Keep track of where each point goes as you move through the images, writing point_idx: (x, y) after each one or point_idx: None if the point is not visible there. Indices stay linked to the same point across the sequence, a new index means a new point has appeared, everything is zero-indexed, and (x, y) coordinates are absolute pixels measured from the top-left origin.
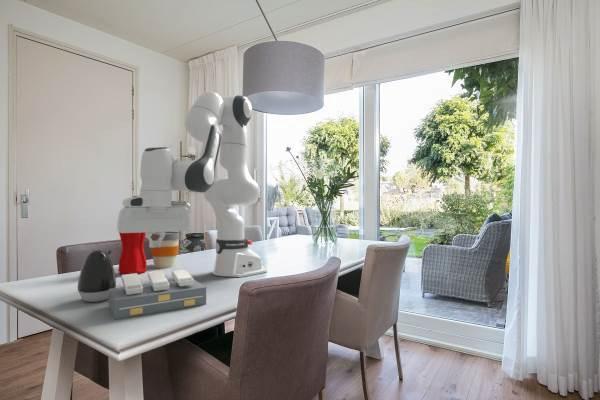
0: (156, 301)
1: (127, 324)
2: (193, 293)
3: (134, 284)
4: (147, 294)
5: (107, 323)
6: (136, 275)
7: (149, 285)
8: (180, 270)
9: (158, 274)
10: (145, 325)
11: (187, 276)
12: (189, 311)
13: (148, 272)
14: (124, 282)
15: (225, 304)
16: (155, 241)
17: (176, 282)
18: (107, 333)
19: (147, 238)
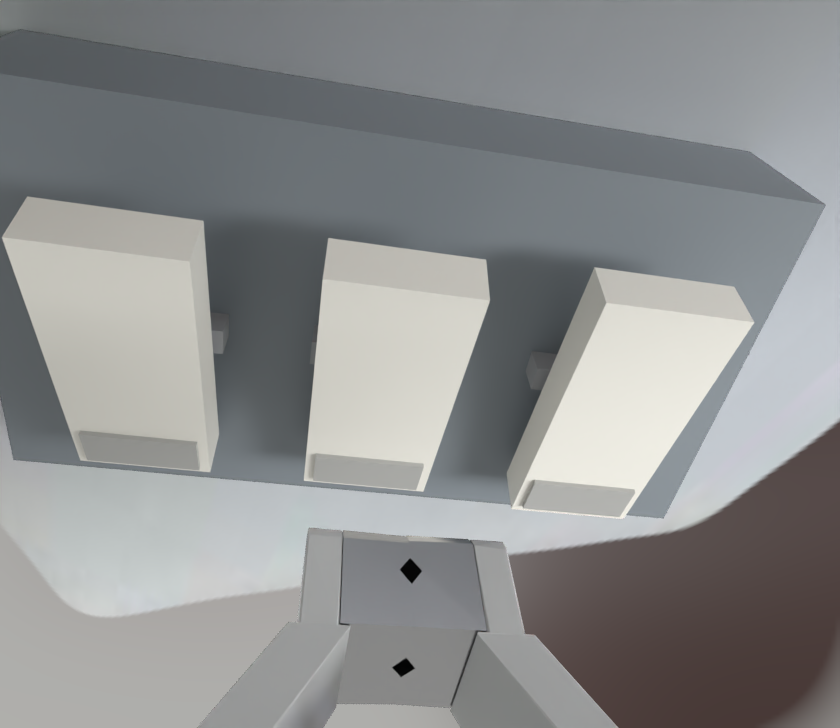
0: None
1: (129, 475)
2: None
3: (145, 422)
4: (248, 458)
5: None
6: (178, 301)
7: (351, 206)
8: (686, 332)
9: (411, 355)
10: (209, 529)
11: (628, 461)
12: None
13: (325, 288)
14: (51, 372)
15: (694, 495)
16: (394, 689)
17: (540, 387)
18: (30, 523)
19: (236, 697)
